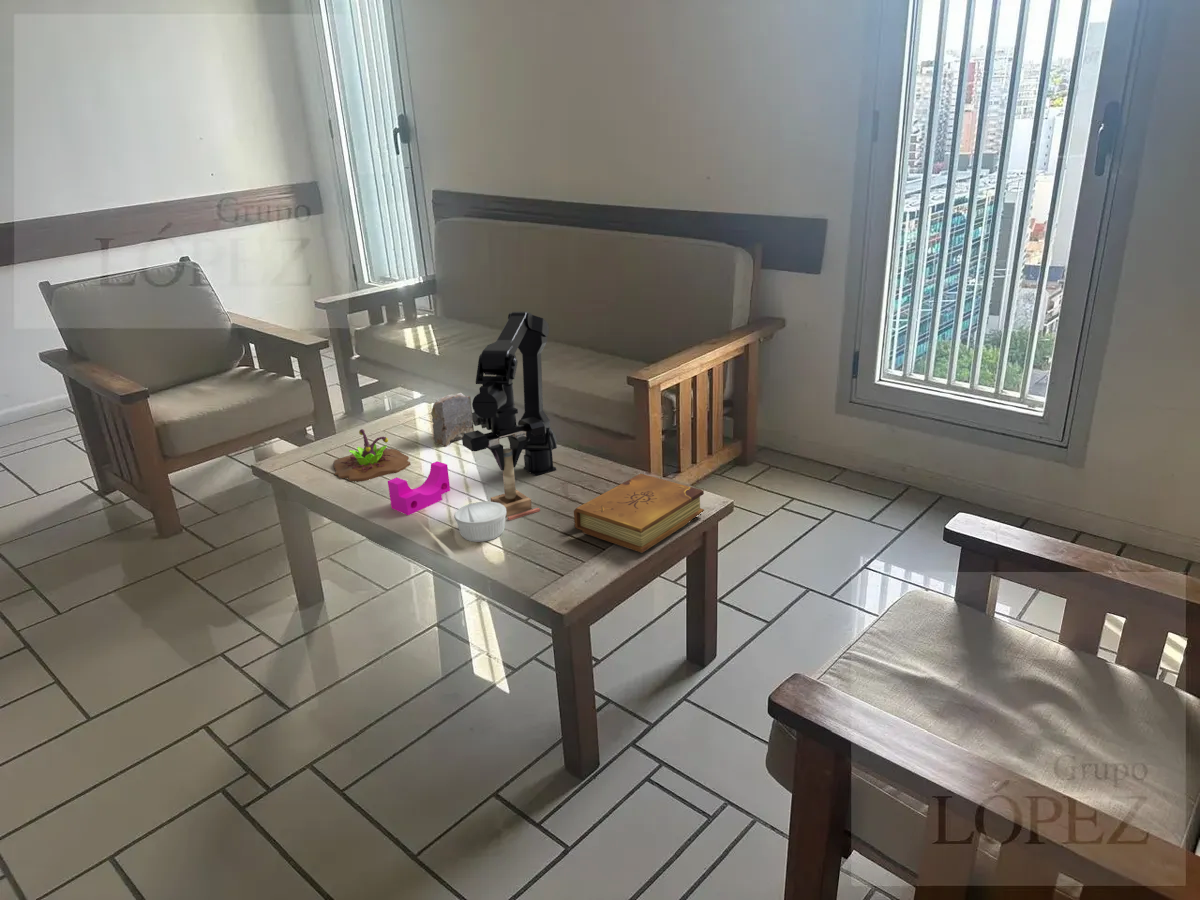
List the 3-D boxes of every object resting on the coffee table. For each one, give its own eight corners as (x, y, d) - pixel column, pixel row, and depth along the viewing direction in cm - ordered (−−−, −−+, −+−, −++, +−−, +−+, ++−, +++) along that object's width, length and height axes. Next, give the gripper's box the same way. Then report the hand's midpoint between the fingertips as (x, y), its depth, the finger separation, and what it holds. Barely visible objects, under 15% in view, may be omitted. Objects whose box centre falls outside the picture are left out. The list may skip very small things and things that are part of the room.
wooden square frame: (521, 498, 203) (520, 488, 202) (540, 511, 196) (539, 501, 195) (491, 507, 199) (490, 497, 198) (509, 520, 192) (508, 510, 191)
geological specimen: (463, 436, 247) (458, 387, 242) (477, 440, 243) (471, 390, 238) (434, 447, 240) (427, 396, 234) (447, 451, 236) (441, 400, 230)
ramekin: (446, 535, 187) (443, 513, 185) (485, 517, 194) (482, 496, 192) (479, 549, 179) (477, 527, 178) (518, 530, 187) (516, 509, 185)
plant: (395, 451, 239) (389, 414, 235) (419, 472, 224) (414, 432, 220) (324, 468, 230) (317, 429, 226) (344, 491, 214) (337, 449, 210)
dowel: (513, 493, 199) (508, 447, 195) (518, 496, 197) (514, 450, 193) (502, 496, 197) (498, 450, 193) (508, 499, 195) (503, 453, 191)
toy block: (408, 516, 197) (404, 487, 195) (391, 510, 201) (387, 481, 198) (457, 494, 208) (453, 466, 205) (440, 489, 212) (437, 461, 209)
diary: (638, 494, 203) (638, 472, 201) (703, 513, 191) (703, 490, 189) (574, 530, 187) (573, 506, 185) (641, 553, 175) (641, 527, 173)
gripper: (521, 388, 200) (526, 449, 206) (448, 404, 191) (456, 468, 196) (544, 398, 191) (549, 462, 197) (469, 416, 182) (476, 482, 188)
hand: (507, 468), depth 195 cm, fingers closed on dowel, 3 cm apart
